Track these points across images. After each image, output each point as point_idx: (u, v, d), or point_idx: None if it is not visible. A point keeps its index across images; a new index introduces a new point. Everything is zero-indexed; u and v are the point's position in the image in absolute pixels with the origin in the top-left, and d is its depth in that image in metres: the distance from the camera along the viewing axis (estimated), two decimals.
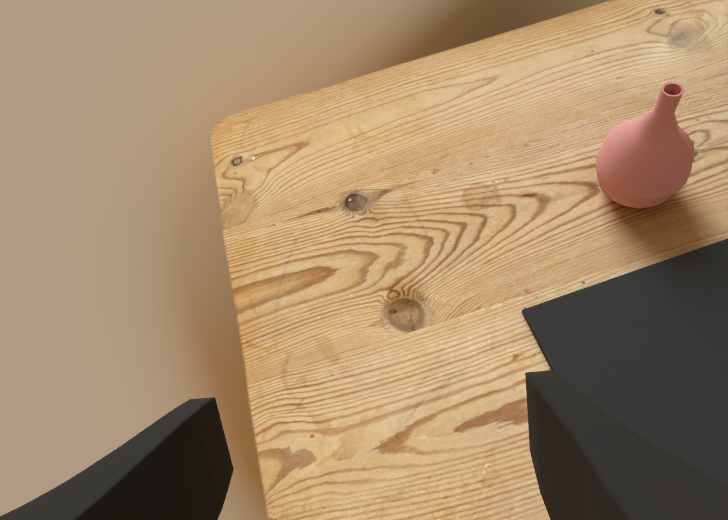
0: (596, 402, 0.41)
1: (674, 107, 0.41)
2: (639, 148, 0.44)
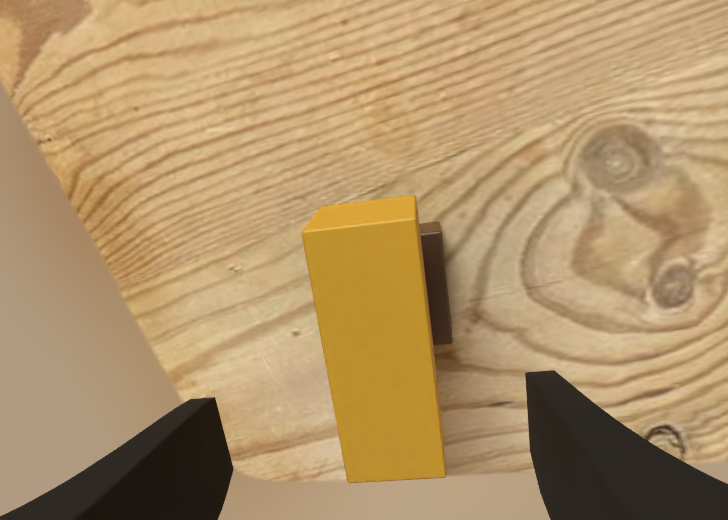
0: None
1: None
2: None
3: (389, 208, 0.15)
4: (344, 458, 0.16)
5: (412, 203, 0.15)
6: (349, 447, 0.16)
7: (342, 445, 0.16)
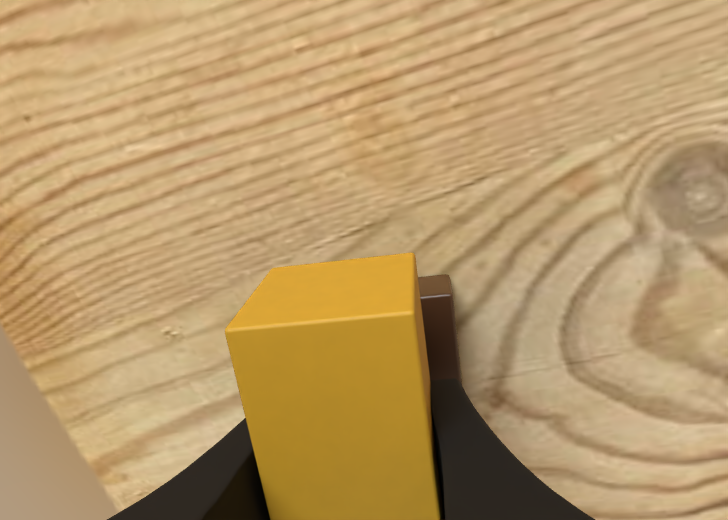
0: None
1: None
2: None
3: (372, 282, 0.09)
4: None
5: (409, 272, 0.10)
6: None
7: None
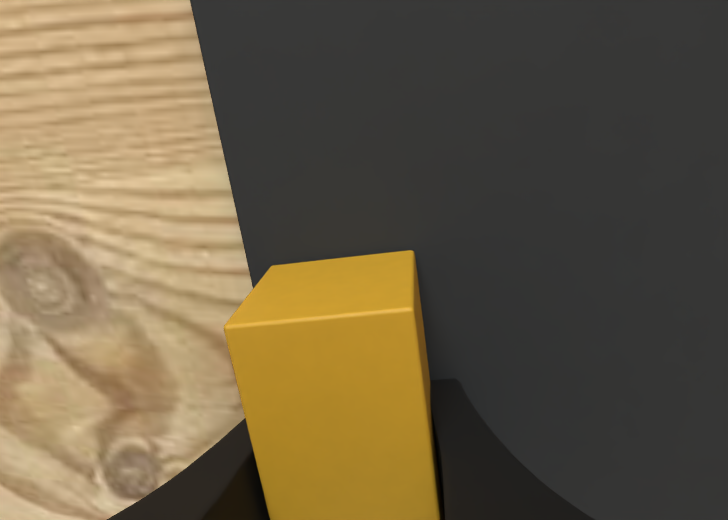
0: None
1: None
2: None
3: (372, 279, 0.09)
4: None
5: (408, 269, 0.10)
6: None
7: None
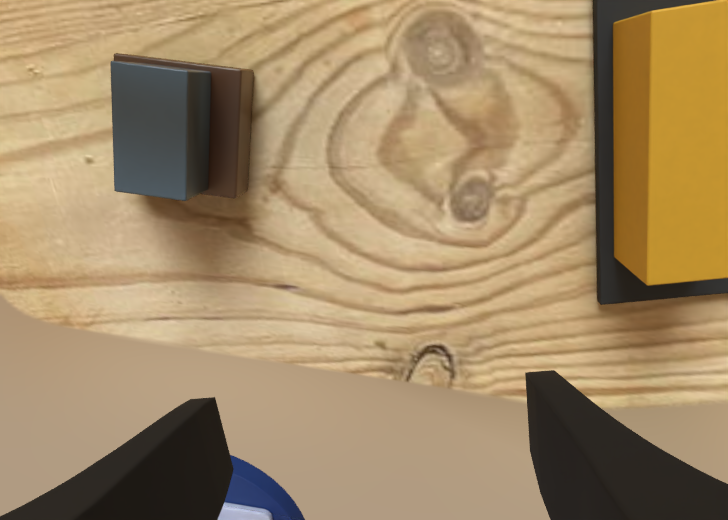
0: None
1: None
2: None
3: None
4: (649, 258, 0.17)
5: None
6: (656, 245, 0.16)
7: (649, 244, 0.16)
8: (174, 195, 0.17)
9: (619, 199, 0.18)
